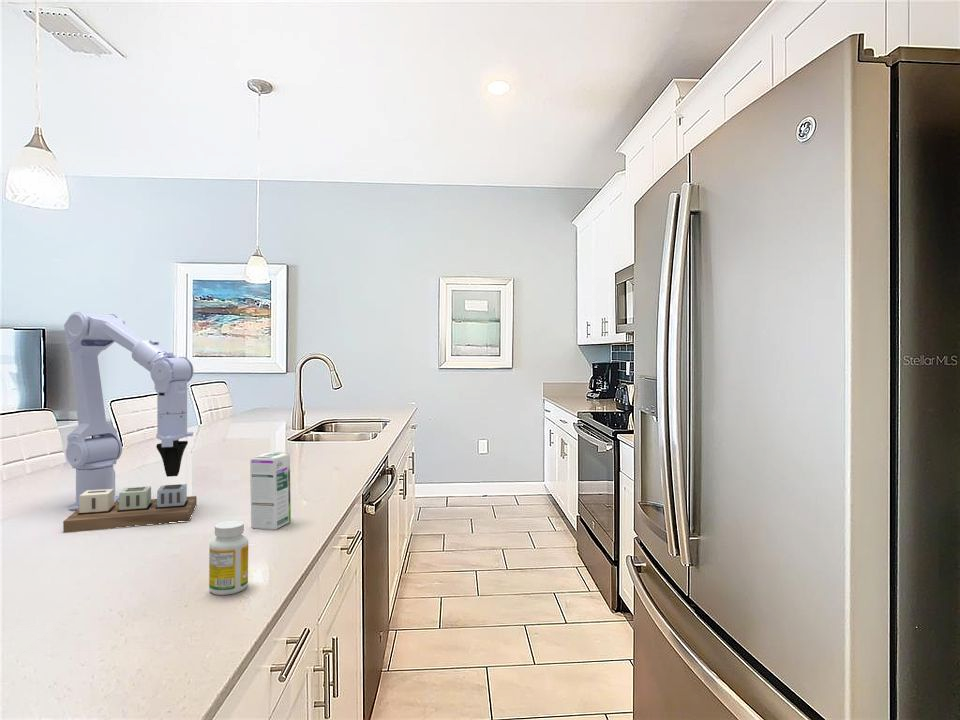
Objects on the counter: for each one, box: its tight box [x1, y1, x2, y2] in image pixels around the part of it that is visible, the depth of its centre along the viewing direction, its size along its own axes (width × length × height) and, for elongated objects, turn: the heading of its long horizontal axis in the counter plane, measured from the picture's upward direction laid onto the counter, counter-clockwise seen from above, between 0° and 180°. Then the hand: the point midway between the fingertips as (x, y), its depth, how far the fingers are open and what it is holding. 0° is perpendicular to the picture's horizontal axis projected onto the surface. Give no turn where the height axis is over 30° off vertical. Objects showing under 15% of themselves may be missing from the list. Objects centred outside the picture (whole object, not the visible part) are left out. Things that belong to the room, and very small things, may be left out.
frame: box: [62, 495, 197, 533], centre depth 124 cm, size 14×22×2 cm, turn 110°
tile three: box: [156, 483, 188, 507], centre depth 126 cm, size 5×5×4 cm
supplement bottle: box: [208, 520, 249, 596], centre depth 87 cm, size 5×5×10 cm
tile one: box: [79, 489, 114, 513], centre depth 122 cm, size 5×5×4 cm
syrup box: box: [249, 452, 292, 531], centre depth 119 cm, size 6×6×14 cm
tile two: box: [118, 485, 152, 510], centre depth 124 cm, size 5×5×4 cm
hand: (172, 475), depth 126 cm, fingers closed
